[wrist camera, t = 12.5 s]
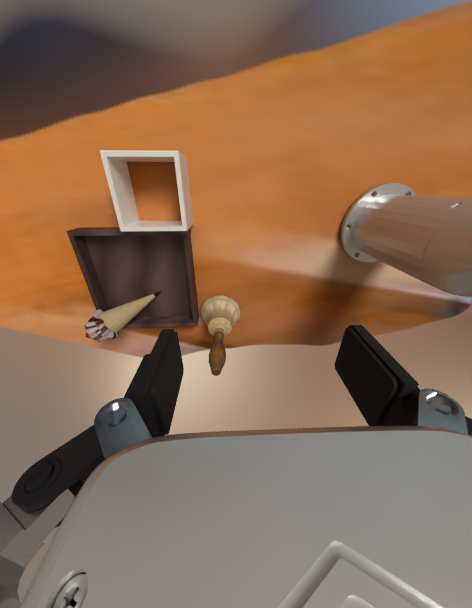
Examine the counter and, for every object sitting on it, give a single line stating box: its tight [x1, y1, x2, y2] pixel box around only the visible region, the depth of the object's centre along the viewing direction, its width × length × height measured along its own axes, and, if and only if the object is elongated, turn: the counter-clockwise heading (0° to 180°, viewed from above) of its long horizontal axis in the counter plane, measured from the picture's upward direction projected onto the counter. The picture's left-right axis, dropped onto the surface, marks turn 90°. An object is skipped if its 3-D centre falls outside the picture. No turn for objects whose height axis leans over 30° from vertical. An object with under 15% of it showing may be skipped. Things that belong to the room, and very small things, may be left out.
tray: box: [67, 227, 199, 328], centre depth 38 cm, size 18×18×3 cm
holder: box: [100, 150, 193, 232], centre depth 30 cm, size 9×9×6 cm
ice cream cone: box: [84, 291, 161, 342], centre depth 38 cm, size 6×6×15 cm
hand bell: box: [200, 295, 240, 376], centre depth 37 cm, size 8×8×16 cm
